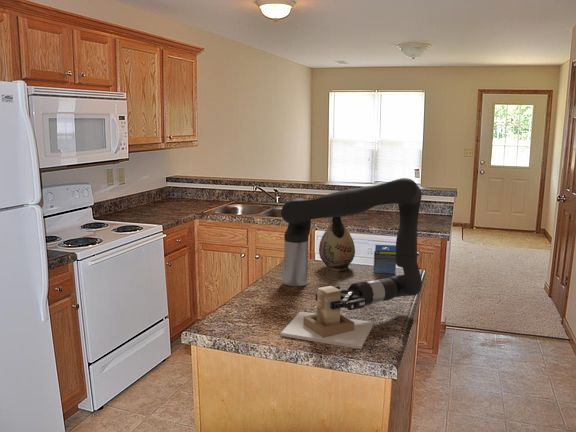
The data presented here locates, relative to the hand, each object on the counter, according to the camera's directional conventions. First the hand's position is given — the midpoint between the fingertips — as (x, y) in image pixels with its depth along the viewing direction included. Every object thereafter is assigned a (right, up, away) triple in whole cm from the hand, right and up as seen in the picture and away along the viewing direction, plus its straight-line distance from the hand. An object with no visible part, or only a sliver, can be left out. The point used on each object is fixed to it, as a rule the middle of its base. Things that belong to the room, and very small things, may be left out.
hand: (323, 301), depth 150 cm
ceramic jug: (+10, +3, +67) cm, 68 cm away
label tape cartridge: (+30, +2, +63) cm, 70 cm away
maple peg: (+2, -8, +3) cm, 9 cm away
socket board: (+2, -9, +3) cm, 10 cm away
